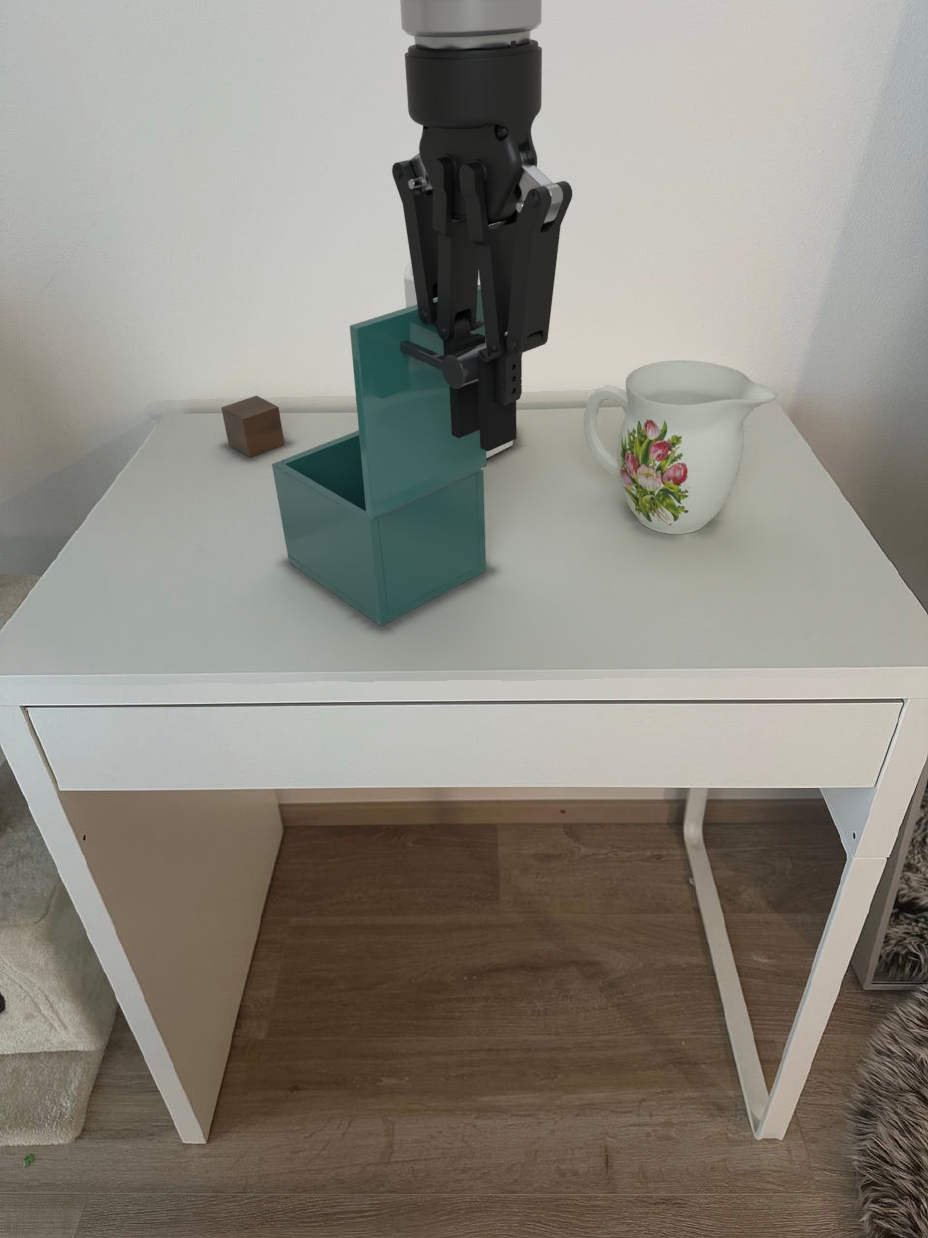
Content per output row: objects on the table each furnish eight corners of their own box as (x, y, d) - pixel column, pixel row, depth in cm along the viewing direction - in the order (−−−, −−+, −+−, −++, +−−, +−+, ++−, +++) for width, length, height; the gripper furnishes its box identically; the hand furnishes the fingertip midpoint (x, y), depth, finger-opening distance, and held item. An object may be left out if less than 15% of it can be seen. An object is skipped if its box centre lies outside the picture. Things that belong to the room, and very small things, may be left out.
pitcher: (612, 465, 97) (620, 334, 88) (778, 516, 87) (804, 375, 79) (551, 508, 90) (554, 371, 82) (723, 569, 80) (746, 420, 72)
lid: (349, 325, 61) (422, 358, 56) (480, 283, 67) (555, 311, 62) (365, 514, 70) (430, 556, 65) (480, 463, 76) (546, 497, 71)
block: (228, 445, 104) (220, 407, 101) (263, 432, 106) (256, 395, 104) (249, 458, 101) (242, 419, 98) (285, 444, 103) (278, 406, 101)
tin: (288, 562, 84) (271, 463, 78) (390, 515, 90) (381, 420, 84) (381, 626, 76) (369, 521, 70) (486, 570, 82) (483, 469, 76)
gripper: (627, 36, 48) (603, 453, 62) (433, 27, 57) (451, 391, 71) (523, 52, 44) (523, 493, 58) (334, 39, 53) (373, 421, 67)
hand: (483, 436), depth 65 cm, fingers closed on lid, 2 cm apart
